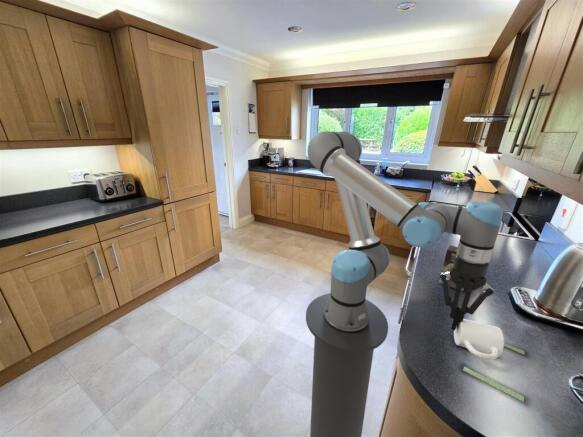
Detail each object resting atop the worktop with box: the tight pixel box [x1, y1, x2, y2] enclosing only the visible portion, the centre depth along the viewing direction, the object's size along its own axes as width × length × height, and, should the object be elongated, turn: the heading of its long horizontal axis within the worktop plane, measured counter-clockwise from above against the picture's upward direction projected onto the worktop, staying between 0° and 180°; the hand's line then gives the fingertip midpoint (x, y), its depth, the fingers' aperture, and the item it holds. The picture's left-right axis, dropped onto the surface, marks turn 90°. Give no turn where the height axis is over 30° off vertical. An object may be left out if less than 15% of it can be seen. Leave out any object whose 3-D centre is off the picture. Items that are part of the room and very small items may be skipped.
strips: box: [462, 342, 525, 402], centre depth 68 cm, size 12×20×1 cm, turn 137°
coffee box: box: [438, 245, 465, 292], centre depth 101 cm, size 9×6×16 cm
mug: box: [453, 318, 505, 360], centre depth 70 cm, size 12×10×8 cm
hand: (454, 327), depth 74 cm, fingers closed
